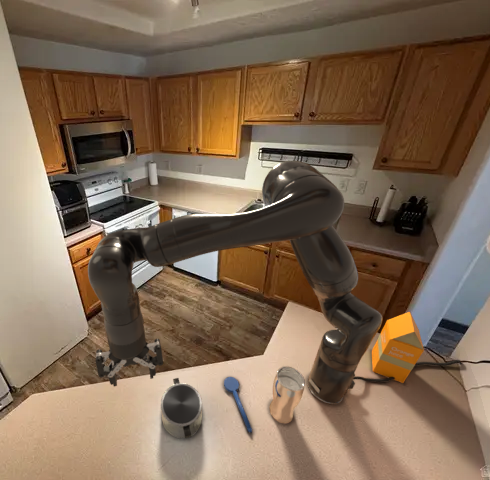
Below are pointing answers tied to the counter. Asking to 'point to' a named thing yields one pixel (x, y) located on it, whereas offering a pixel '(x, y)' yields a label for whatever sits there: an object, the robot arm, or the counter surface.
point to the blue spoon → (237, 398)
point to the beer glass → (286, 393)
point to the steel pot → (181, 410)
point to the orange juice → (397, 348)
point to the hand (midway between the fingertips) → (133, 378)
